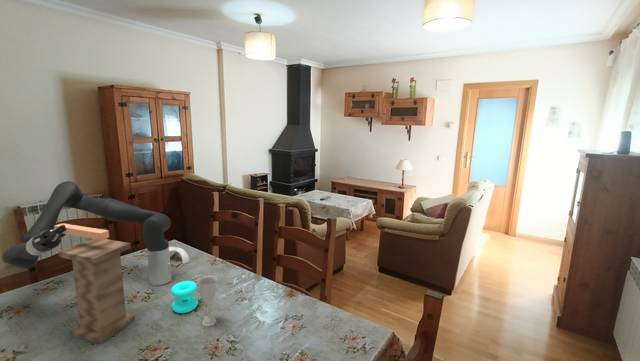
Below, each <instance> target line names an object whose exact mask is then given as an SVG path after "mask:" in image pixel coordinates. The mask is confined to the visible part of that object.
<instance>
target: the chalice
mask: <svg viewBox="0 0 640 361" xmlns="http://www.w3.org/2000/svg"><path fill="white" fill-rule="evenodd" d="M217 281H218V277H217V276H215V275H210V274H209V275H203V276H201V277H199V278H198V279H197V283H198V285H199V286H198V289H199V294H200V296H201V298H202V301H203V302H204V303H205V304H206V308H207V310H206V313H207V315H205V316H204V318H203V320H202V325H203V326H205V327H211V326H214V325H215V324H216V323H217V320H216V317H215V316H214V315H213V314H211V312H212V310H211V306H212V305H211V303H212V302H213V300H214V298H215V296H216V294H217Z"/></svg>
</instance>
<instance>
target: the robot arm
mask: <svg viewBox="0 0 640 361" xmlns="http://www.w3.org/2000/svg"><path fill="white" fill-rule="evenodd" d="M63 207H67V208H72V209H76V210H80V211H85V212H88V213H91V214H94V215H97V216H99V217H102V218H105V219H108V220H111V221H114V222H117V223H118V222H120V223H133V224H134V223H136V224H141V225H142V232H143V234H142V235H143V240H144V241H143V242H144V245H145V246H146V252H147V264H148V280H149V284H150V286H154V287H156V286H164V285H165V284H168V283H169V282H172V281H173V280H172V265H171V264H172V263H171V261H170V260H171V259H170V258H171V257H169V247H170V244H169V240H168V239H165V232H166V231H168V230H169V228H170V227H171V226H172V223H171V219H170V218H169V216H168V215H166V214H164V213H160V212H157V211H154V210H153V211H152V210H148V209H145V208H144V209H143V208H141V207H138V206H136V205H132V204H129V203H127V202H124V201H121V200H118V199H114V198H110V197H109V198H108V197H107V198H106V197H105V198H96V197H94V196H90V195H88V194H86V193H83V191H82V190H81V188H80V187H79V186H78V184H76V182H73V181H70V180H69V181H66V180H65V181H63V182H60V183H59V184H57V185H56V187H54V189H53V191H52V193H51V195H50V197H49V198H48V200H47V202H46V203H45V206H44V208H43V209H42V211H41V213H40V214H39V216H38V217H37V219H36V221H35V222H33V224H32V225H31V227H30V228H29V229H28V231H27V232H26V233H25V234H24V236H23V238H22V240H23V243H18V244H15V245H12V246H10V247H9V248H6V250H5V251H4V252H3V253H2V255H1V259H2V261H3V262H4V263H5V264H7V265H11V266H14V267H16V268H20V269H24V270H28V269H30V268H33V267H34V266H35V265H36V264H37V262H38V260H39V258H40V257H41V256H43V255H45V254H46V253H49V252H50V251H52V250H53V249H55V248H57V247H58V246H59V245H60V244H61V242H62V240H63V239H64V237H67V236H68V234H62V232H64V231H66V227H65V225H61V226H60V227H58V228H56V229H55V228H54V226H55V225H57V222H58V219H59V215H60V213H61V211H62V209H63ZM69 224H70V225H77V223H76V222H75V221H72V222H70V223H69Z"/></svg>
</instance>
